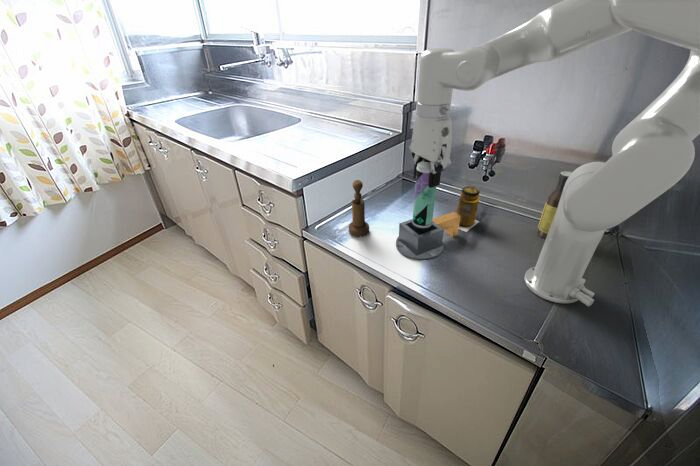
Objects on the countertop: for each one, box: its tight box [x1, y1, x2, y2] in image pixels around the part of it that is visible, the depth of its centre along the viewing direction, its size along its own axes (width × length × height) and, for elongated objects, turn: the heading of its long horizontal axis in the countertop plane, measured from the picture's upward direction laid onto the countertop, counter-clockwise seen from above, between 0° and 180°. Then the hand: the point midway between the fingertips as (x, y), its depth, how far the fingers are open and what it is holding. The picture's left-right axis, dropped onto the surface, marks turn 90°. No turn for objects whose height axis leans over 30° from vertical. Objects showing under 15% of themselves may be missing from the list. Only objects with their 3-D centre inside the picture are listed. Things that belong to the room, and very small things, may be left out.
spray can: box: [412, 158, 438, 228], centre depth 85 cm, size 6×6×20 cm
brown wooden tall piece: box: [348, 179, 370, 238], centre depth 98 cm, size 7×6×18 cm
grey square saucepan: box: [395, 211, 461, 261], centre depth 94 cm, size 14×20×7 cm
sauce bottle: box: [536, 170, 573, 239], centre depth 92 cm, size 6×6×20 cm
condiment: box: [456, 186, 481, 233], centre depth 101 cm, size 7×8×12 cm
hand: (426, 181), depth 83 cm, fingers closed on spray can, 5 cm apart
